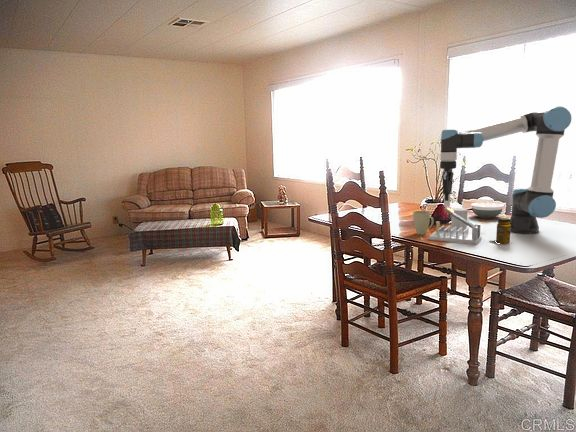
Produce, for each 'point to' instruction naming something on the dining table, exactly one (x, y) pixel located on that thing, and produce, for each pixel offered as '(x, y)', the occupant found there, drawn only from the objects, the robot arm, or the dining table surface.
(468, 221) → the grey bar
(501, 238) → the condiment
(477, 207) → the bowl
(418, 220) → the mug
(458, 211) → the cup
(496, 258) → the dining table surface
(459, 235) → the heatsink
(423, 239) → the dining table surface
